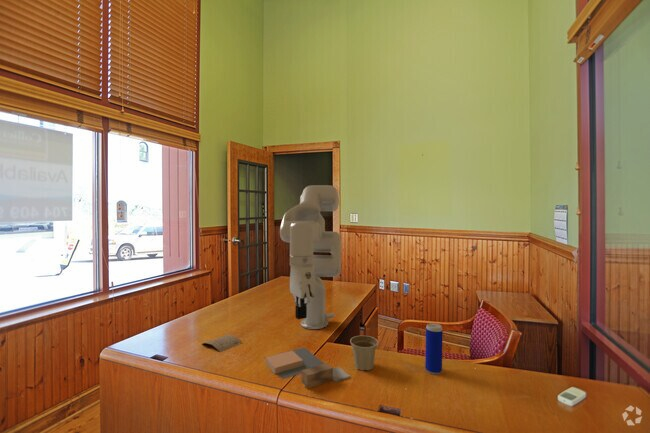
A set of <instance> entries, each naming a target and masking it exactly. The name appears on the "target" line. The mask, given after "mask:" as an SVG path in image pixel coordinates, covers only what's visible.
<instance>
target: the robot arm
mask: <svg viewBox="0 0 650 433" xmlns="http://www.w3.org/2000/svg"><path fill="white" fill-rule="evenodd" d="M339 203H340V198H339V193H338V191H337V188H336V187H335V186H333V185H329V184H326V185H325V184H324V185H323V184H322V185H321V184H319V185H318V184H317V185H315V184H314V185H313V184H312V185H308V186H306V187H305V188H303V191H302V194H301V195H300V198H299V203H298V204H297V205H295V206H293V207H292V208H290V209H289V210H287V211H286V212H285V213H284V215H283V217H282V220H281V223H280V228H279V236H280V239H281V240H282V241H283V242H285V243H289V267H290V270H289V271H290V272H289V292H290V293H291V294H292V296H293V297H294V304H295V311H294V312H295V314H294V315H295V316H294V317H295V318H296V319H297V320H301V321H300V326H301V327H303V328H304V329H307V330H319V329H324V327H325V328H326V327H328V326H329V321H328V319H333V318H335V313H334V312H331V313H329V312H326V285H325V283H324V281H323V280H322V278H321V277H323V278H325V277H328V278H331V277H332V278H333V277H339V275H341V272H342V240H341V235H340V233H338V232H337V231H326V228H325V227H326V221H325V218H324V217H323V214H321V212H336V211H337V210H338V208H339V205H340V204H339ZM314 253H330V254H331V255H324V254H323V255H322V254H314ZM327 325H328V326H327Z"/></svg>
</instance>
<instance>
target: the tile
mask: <svg viewBox="0 0 650 433" xmlns="http://www.w3.org/2000/svg"><path fill="white" fill-rule="evenodd" d="M288 351H289V352H288ZM288 351H284V352H285V353H284V352H280V353H281V354H280V353H277V355H276V354H273V355H274V356H272V355H269V356H270V357H268V356H266V359H265V364H266V366H267V368H269V369H270V370H271V372H272V373H273V374H274V375H278V373H280V372H284V371H287V370H291V369H294V368H298V367H301V366H303V360H302V359H301V358H300V357H299V356H298V355H297V354H296V353H295V352H293V351H292V350H288Z"/></svg>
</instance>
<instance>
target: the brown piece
mask: <svg viewBox="0 0 650 433" xmlns="http://www.w3.org/2000/svg"><path fill="white" fill-rule="evenodd" d="M350 378H351V375H350V374H348V373H347V372H346V371H344V370H343V369H342V368H341V367H340V366H337V367H334V368H333V366H331V365H330V364H329V363H327V362H326V363H324V364H322V365H318V366H315V367H312V368H308V369H305V370H302V374H301V383H302V384H303V385H304V386H305V388H306V389H311V388H313V387H317V386H319V385H323V384H326V383H328V382H332V381H333V382H334V383H339V382H341V381H343V380H346V379H350Z"/></svg>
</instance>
